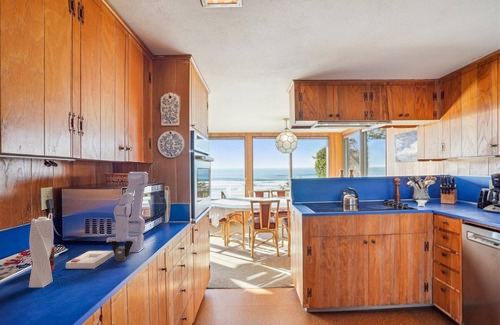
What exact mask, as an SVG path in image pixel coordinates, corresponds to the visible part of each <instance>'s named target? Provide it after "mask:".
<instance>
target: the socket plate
mask: <svg viewBox="0 0 500 325" xmlns="http://www.w3.org/2000/svg"><path fill="white" fill-rule="evenodd" d="M112 257H115V254H114V251H113V250H87V251H86V252H85V253H82V254H80V255H79V256H77V257H74V258H72V259H71V260H68V261H67V262H65V269H72V270H73V269H96V268H97V267H98V266H100V265H102V264H103V263H105V262H107V261H108V260H109V259H111V258H112Z"/></svg>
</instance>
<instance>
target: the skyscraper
mask: <svg viewBox="0 0 500 325" xmlns="http://www.w3.org/2000/svg"><path fill="white" fill-rule="evenodd" d="M53 224H54V223H53V213H52V212H50V213H49V214H48V216H40V217H37V219H35V218H34V217H33V218H32V219H31V223H30V230H29V242H28V245H29V254H30V257H31V263H32V262H33V265H32V264H31V271H30V277H29V283H28V284H29V285H28V288H45V287H46V286H47V285H49V284H51V283H53V274H52V271H51V266H50V261H49V257H50V254H51V250H52V246H53V244H54V225H53Z"/></svg>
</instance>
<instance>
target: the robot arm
mask: <svg viewBox="0 0 500 325" xmlns="http://www.w3.org/2000/svg"><path fill="white" fill-rule="evenodd" d="M127 182H128V183H127V184H128V185H127V188H126V190H125V191H126V192H124V193H123V194H122V195H121V198H120V200H119V203H118V204H117V205H116V206H115V207H114V209H113V215H114V216H113V217H114V221H115V236H113V237H107V238H106V243H109V246H110V248H112V251H114V255H115V249H116V248H118V247H119V246H120V243H124V245H123V246H125V257H127V256H128V257H130V256H129V255H130V253H140V252H141V251H142V250H144V249H145V248H146V246H144V238H145V236H144V233H145V231H146V230H145V229H146V221H145V219H144V218H143V217H142V216H141V215H142V208H143V201H144V195H145V188H147V187H148V185H149V184H148V183H149V174H148V172H147V171H129V172H128V174H127ZM130 214H131V216H130ZM129 216H130V217H129Z"/></svg>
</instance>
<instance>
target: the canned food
mask: <svg viewBox="0 0 500 325" xmlns="http://www.w3.org/2000/svg"><path fill="white" fill-rule="evenodd" d="M49 261H50V266H51V272H53V270H54V269H55V244H54V243H53V246H52V250H51V254H50V257H49ZM32 265H33V262H32V261H31V266H32Z"/></svg>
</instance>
